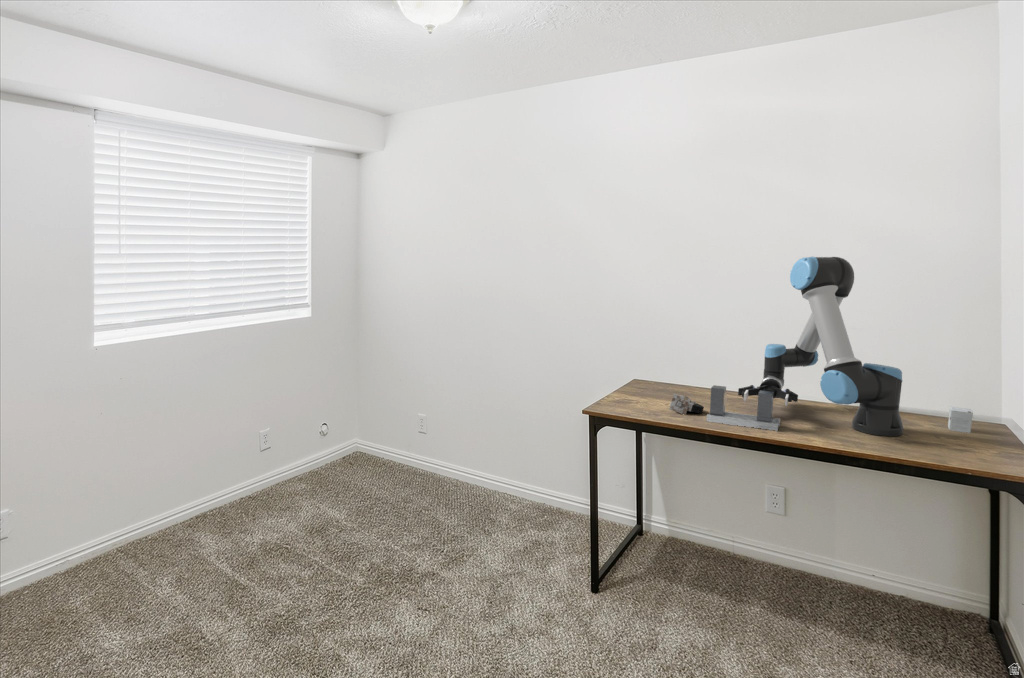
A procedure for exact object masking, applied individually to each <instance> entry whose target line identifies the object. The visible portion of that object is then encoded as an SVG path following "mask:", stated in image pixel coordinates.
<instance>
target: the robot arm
mask: <svg viewBox="0 0 1024 678" xmlns="http://www.w3.org/2000/svg"><path fill="white" fill-rule="evenodd" d="M789 281H790V283H791V286H792V287H793V288H794V289H795V290H798V291H800V293H801V295H802V298H803V299H804V300H807V301H808V304H809V306H810V310H811V314H810V316H809V318H808V320H807V322H806V324H805V326H804V328H803V331H802V332H801V335H800V336H799V338H798V340H797V341H796V344H795V346H794V347H792V348H787V347H786V345H784V344H780V343H769V344H767V345H765V348H764V365H763V367H764V368H763V377H762V378H763V379H762V381H761V383H760V385H759V386H757V387H756V386H755V385H753V384H751V385H749V386H745V387H740V388H738V392H737V396H741V397H742V398H743V402H746V401H747V400H748V398H749V397H752V396H758V393H759V391H760V390H761V391H770V392H774V397H773V400H774V399H783V400H784V406H788V404H789V403H791V402H795V403H796V402H798V399H799V395H798V394H797V393H795V392H794V391H791V390H790V388H785V389H784V390H782V388H783V387H784V386H785V370H786V369H785V368H793V367H798V368H799V367H802V368H803V367H811V366H814V365H816V364H817V362H818V361H819V353H818V351H817V350H818V347H819V346H820V344H821V348H822V351H823V355H824V357H825V361H826V364H825V366H824V367H823V371H824V373H823V374H822V375H821V378H820V383H819V384H820V385H819V386H820V390H821V392H822V393H823V395H824V397H825V398H826V399H827V400H829V401H830V402H831V403H834V404H837V405H846V406H848V405H853V404H858V405H859V407H858V408H857V411H856V412H855V414H854V417H853V418H852V422H851V428H852V429H854V430H856V431H858V432H862V433H864V434H869V435H875V436H883V437H898V436H901V435H903V433H904V425H903V422H902V421H903V420H902V417H901V414H900V402H901V401H900V400H901V395H902V394H901V392H902V384H903V372H902V370H901V369H900V368H898V367H894V366H889V365H884V364H877V363H871V362H870V363H867V362H865V363H863V362H862V360H860V359H858V358H856V357H855V355H854V351H853V347H852V344H851V342H850V338H849V335H848V332H847V328H846V325H845V321H844V319H843V316H842V312H841V309H840V306H841V304H842V302H843V300H844V299H846V298H848V297H849V295H850V293H851V291H852V288H853V285H854V283H855V271H854V269H853V266H852V264H851V263H850V262H849V261H848V260H847V259H845V258H843V257H839V256H807V257H802V258H799V259H798V260H797V261H796V262H795V263H794V264H793V266H792V268H791V270H790V274H789ZM862 363H863V364H862Z"/></svg>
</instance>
